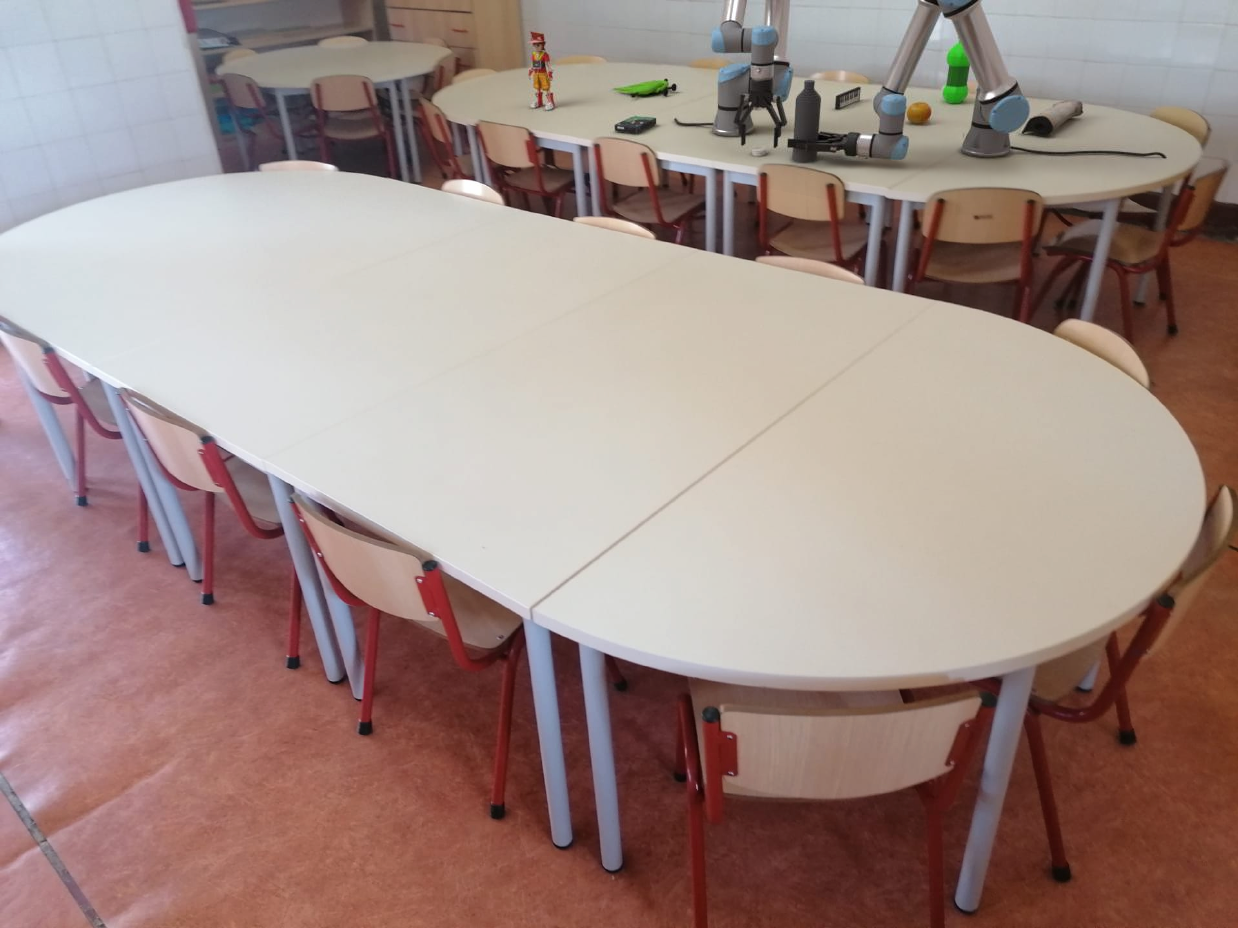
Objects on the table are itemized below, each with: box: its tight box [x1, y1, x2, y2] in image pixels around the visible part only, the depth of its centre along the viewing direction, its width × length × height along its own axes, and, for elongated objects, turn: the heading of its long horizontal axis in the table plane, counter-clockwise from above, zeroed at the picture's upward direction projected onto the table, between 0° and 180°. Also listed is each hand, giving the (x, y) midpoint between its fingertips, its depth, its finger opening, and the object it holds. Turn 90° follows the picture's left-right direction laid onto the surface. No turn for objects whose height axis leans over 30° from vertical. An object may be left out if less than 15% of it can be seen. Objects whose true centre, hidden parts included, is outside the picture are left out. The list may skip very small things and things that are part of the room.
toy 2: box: [612, 78, 677, 99], centre depth 396 cm, size 28×5×30 cm
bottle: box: [792, 79, 822, 163], centre depth 297 cm, size 8×8×25 cm
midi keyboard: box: [834, 86, 862, 110], centre depth 359 cm, size 18×1×5 cm, turn 138°
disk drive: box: [614, 115, 657, 135], centre depth 346 cm, size 10×3×15 cm
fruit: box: [906, 101, 932, 124], centre depth 331 cm, size 8×8×8 cm
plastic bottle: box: [942, 36, 971, 104], centre depth 348 cm, size 10×10×25 cm
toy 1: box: [527, 31, 556, 111], centre depth 374 cm, size 12×9×30 cm
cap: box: [751, 146, 767, 157], centre depth 310 cm, size 4×5×2 cm
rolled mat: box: [1021, 99, 1084, 138], centre depth 318 cm, size 30×9×10 cm
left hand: (759, 146), depth 309 cm, fingers open, 11 cm apart
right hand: (792, 139), depth 302 cm, fingers closed on bottle, 8 cm apart
